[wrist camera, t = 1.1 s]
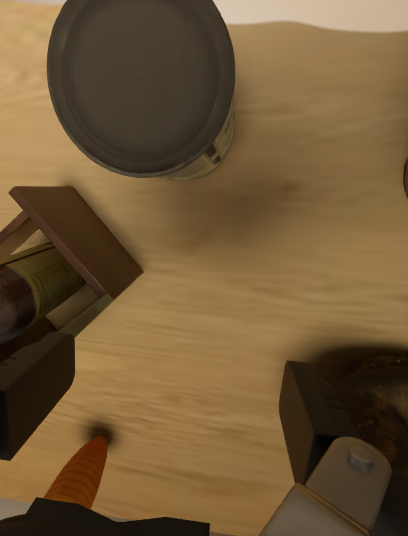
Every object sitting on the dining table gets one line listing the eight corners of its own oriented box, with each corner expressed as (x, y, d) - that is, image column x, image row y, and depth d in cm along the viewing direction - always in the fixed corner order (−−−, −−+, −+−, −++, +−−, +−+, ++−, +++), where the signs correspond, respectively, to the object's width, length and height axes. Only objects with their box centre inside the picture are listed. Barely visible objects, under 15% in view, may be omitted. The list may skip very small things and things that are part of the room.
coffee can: (114, 88, 30) (14, 4, 16) (218, 50, 28) (204, -78, 15) (148, 194, 32) (85, 199, 18) (245, 164, 30) (255, 146, 17)
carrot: (77, 436, 41) (-8, 573, 26) (98, 413, 40) (20, 543, 25) (107, 458, 41) (40, 604, 27) (129, 436, 40) (70, 576, 25)
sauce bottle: (32, 283, 36) (-199, 393, 17) (42, 232, 34) (-202, 289, 15) (85, 302, 36) (-84, 434, 17) (98, 252, 34) (-74, 335, 15)
